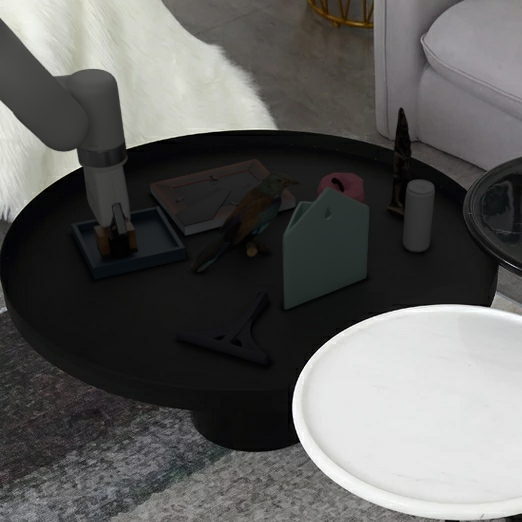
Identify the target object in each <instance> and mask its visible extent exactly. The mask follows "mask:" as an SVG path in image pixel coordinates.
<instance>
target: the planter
mask: <svg viewBox="0 0 522 522" xmlns="http://www.w3.org/2000/svg"><path fill="white" fill-rule="evenodd" d="M369 230H370V207H369V205H367V204H366V203H365V204H362V203H360V202H358V201H356V200H354V199H352V198H350V197H348V196H346V195H344V194H342V193H340V192H338V191H336V190H334V189H332V188H330V187H327V188H325V189H324V191H323V192H322V193H321V194H320V195H319V197H318V198H317V197H316V199H315V200H314V201H299V202H298V203H297V205H296V207H295V209H294V210H293V213H292V215H291V217H290V220H289V222H288V225H287V227H286V229H285V230H284V233H283V234H282V280H283V281H282V282H283V283H282V284H283V287H282V288H283V308H284V310H289V309H292V308H294V307H297V306H299V305H301V304H304V303H307V302H310V301H312V300H314V299H317V298H319V297H322V296H324V295H325V296H326V295H327V294H330V293H332V292H335V291H337V290H340V289H342V288H345V287H347V286H350V285H352V284H355V283H357V282H360V281H362V280H365V279H367V273H368V257H369V256H368V253H369Z"/></svg>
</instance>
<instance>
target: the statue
mask: <svg viewBox="0 0 522 522" xmlns="http://www.w3.org/2000/svg"><path fill="white" fill-rule="evenodd" d="M409 130H410V129H409V123H408V119H407V116H406V113H405V110H404V108H403V107H402V106H401V107H399V109H398V113H397V122H396V129H395V137H394V145H393V146H394V147H393V164H392V167H393V169H392V185H391V186H392V189H391V199H390V203H389V204H388V205H387V206H386V211H387V212H388V213H390V214H393V215H395V216H397V217H399V218H401V219H403V220H404V215H405V202H406V189H407V187H408V183H409V182H411V181H413V179H412V171H411V165H412V154H413V153H412V149H411V147H412V141H411V137H410V133H409Z"/></svg>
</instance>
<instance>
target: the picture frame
mask: <svg viewBox="0 0 522 522" xmlns="http://www.w3.org/2000/svg"><path fill="white" fill-rule="evenodd" d="M271 173H272V172H270V171H269V169H267V168H266V167H265V166H264V165H263V163H261V162H260V161H259V159H258V158H253V159H249V160H244V161H241V162H237V163H233V164H229V165H224V166H220V167H216V168H210V169H207V170H203V171H198V172H194V173H190V174H186V175H182V176H177V177H173V178H169V179H165V180H160V181H155V182H151V183H149V187H150V193H151V194H152V195H153V197H154V198H155V200H156V201H157V202H158V203H159V204H160V206H161V207H162V208H163V209H164V211H165V212H166V214H168V216H169V217H170V218H171V219H172V221H173V222H174V223H175V225H176V226H177V227H178V228H179V230H180V231H181V232H182V233H183V234H184V236H185V237H187V236H190V235H191V236H192V235H196V234H198V233H203V232H206V231H207V232H208V231H211V230H214V229H218V228H219V229H220V228H221V226H222V225H223V223H224V222H225V221H226V219H227V218H228V217H229V216H230V214H231V213H232V212H233V210H234V209H235V208H236V207H237V206H238V204H239V203H240V201H241V200H242V199H243V198H244V197H245V196H246V194H247V193H248V192H249V191H251V190H252V189H253V188H255V187H256V186H258V185H259V184H260V183H261V182H262V181H263V180H264V179H265V178H267V177H268V176H269V175H270V174H271ZM280 197H281V199H282V202H281V206H280V208H279V211H278V213H279V212H280V213H281V212H284V211H287V210H292V209H294V208H295V209H296V207H297V204H296V200H297V199H296V197H295V196H294V194H292V193H291V192H290V191H289V190H288V189H287V187H286V188H285V189H284V191H283V192H282V194H281V196H280Z"/></svg>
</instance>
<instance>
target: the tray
mask: <svg viewBox="0 0 522 522" xmlns="http://www.w3.org/2000/svg"><path fill="white" fill-rule="evenodd" d="M130 215H131V219H130V222H131V223H132V225H133V227H134V228H135V232H136V239H137V246H138V252H136V253H132V254H130V255H129V256H124V257H120V258H115V259H112V258H110V259H106V260H103V259H102V257H101V255H100V253H99V251H98V249H97V244H96V238H95V232H94V227H95V226H100V224H99V223H98V221H97V219H96V218H94V219H89V220H84V221H80V222H74V223H70V226H71V230H72V236H73V238H74V240H75V242H76V245H77V246H78V248H79V250H80V252H81V254H82V256H83V258H84V261H85V263H86V265H87V266H88V269H89V271H90V273H91V275H92V276H93V279H94V280H100V279H104V278H108V277H112V276H116V275H117V276H118V275H121V274H126V273H130V272H134V271H140V270H143V269H148V268H152V267H156V266H161V265H166V264H169V263H174V262H178V261H185V260H186V259H187V255H186V247H185V245H184V244H183V242H182V240H181V239H180V237H179V236H178V234H177V233H176V231H175V230H174V227H172V225H171V224H170V222H169V220H168V219H167V217H166V215H165V213H164V212H163V210H162V209H161V207H160V206H159V205H158V206H153V207H148V208H143V209H138V210H134V211H130Z"/></svg>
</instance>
